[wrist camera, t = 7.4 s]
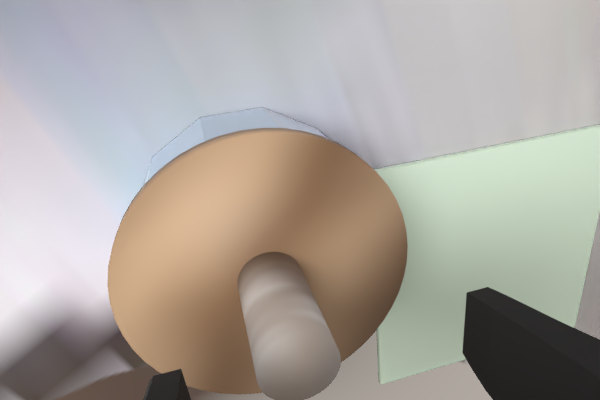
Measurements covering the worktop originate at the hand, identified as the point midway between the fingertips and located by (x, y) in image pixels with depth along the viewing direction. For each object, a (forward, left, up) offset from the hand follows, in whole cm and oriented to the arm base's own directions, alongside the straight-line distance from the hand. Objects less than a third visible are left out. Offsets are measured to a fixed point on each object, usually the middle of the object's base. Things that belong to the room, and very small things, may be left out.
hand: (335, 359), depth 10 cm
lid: (+1, +1, -6) cm, 6 cm away
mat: (-12, +7, -10) cm, 17 cm away
